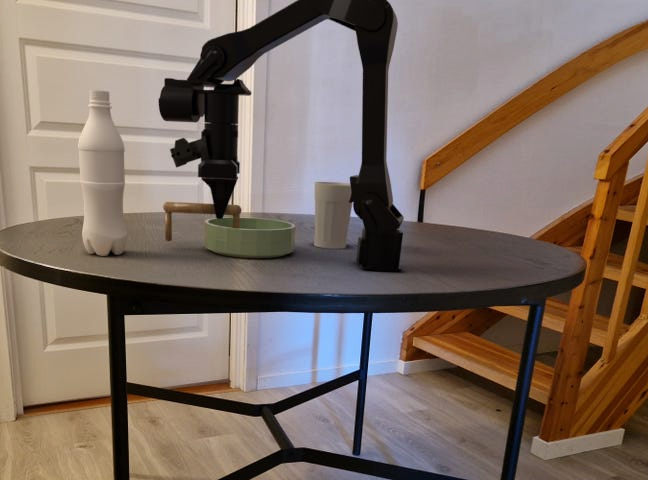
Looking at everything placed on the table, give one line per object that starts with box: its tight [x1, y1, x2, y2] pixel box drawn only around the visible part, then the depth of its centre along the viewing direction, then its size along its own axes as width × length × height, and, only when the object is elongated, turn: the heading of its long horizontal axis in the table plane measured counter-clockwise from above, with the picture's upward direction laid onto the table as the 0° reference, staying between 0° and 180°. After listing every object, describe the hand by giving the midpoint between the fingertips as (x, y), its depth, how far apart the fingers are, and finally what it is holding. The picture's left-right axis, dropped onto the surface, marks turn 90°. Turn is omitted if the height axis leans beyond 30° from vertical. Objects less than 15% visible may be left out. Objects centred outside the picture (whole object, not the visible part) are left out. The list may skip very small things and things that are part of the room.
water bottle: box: [77, 89, 128, 257], centre depth 99 cm, size 7×7×25 cm
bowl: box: [203, 216, 296, 259], centre depth 112 cm, size 16×16×5 cm
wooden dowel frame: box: [162, 201, 243, 242], centre depth 109 cm, size 18×5×7 cm, turn 91°
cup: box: [313, 181, 353, 250], centre depth 120 cm, size 8×8×12 cm
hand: (219, 217), depth 109 cm, fingers closed on wooden dowel frame
